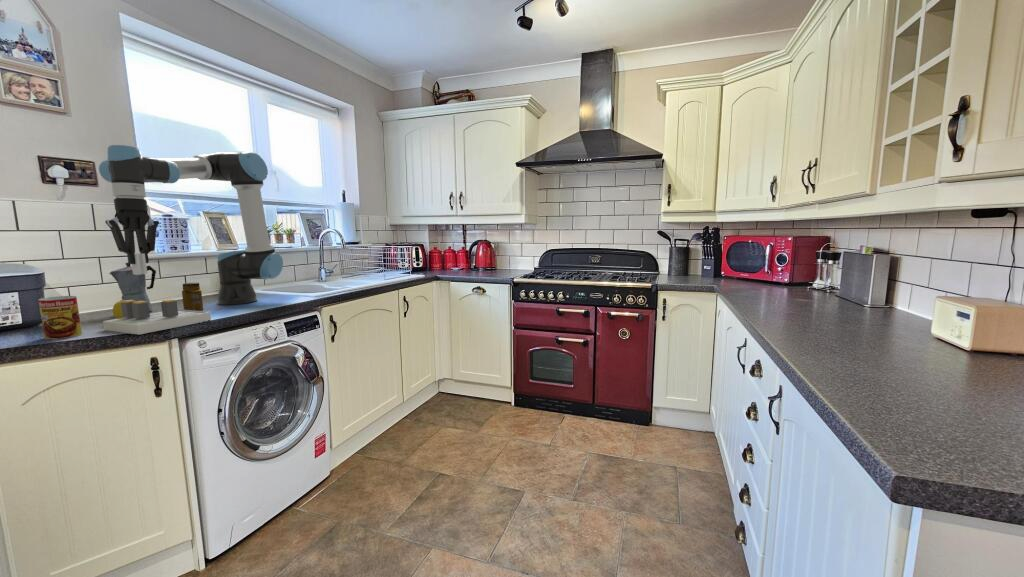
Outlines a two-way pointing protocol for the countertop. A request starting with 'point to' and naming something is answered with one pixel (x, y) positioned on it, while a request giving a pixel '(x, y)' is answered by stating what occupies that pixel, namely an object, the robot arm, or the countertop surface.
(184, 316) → the panel
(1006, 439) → the countertop surface
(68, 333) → the canned food
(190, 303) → the condiment
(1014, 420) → the countertop surface
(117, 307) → the lemon
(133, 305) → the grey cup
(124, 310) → the knob far
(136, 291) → the moka pot
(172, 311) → the grey block
